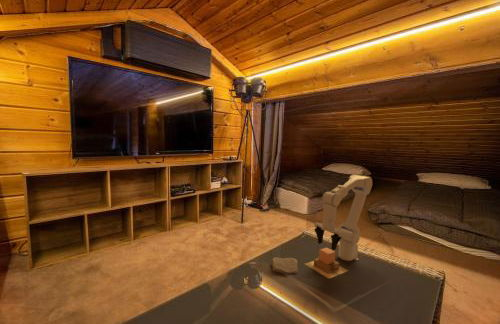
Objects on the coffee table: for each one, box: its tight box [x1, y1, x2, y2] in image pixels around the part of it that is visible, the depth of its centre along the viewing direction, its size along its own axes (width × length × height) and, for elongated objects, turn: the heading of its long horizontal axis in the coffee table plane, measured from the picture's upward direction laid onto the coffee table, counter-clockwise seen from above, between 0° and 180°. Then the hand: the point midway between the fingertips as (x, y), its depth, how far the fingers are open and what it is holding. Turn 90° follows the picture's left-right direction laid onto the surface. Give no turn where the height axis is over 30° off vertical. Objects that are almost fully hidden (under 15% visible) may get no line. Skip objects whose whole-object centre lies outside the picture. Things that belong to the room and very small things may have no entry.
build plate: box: [304, 260, 349, 280], centre depth 109 cm, size 14×14×1 cm
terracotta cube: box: [318, 246, 336, 265], centre depth 109 cm, size 5×5×5 cm
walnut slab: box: [313, 257, 340, 274], centre depth 109 cm, size 8×8×3 cm
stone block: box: [271, 256, 299, 276], centre depth 107 cm, size 12×5×10 cm
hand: (326, 246), depth 110 cm, fingers open, 7 cm apart
